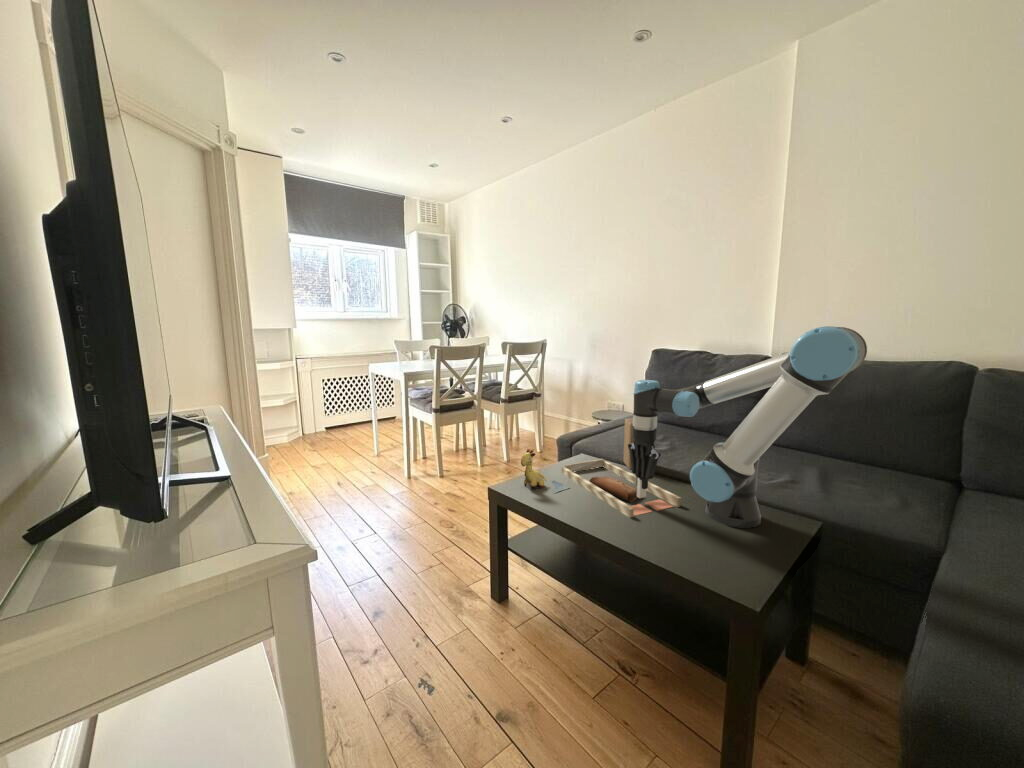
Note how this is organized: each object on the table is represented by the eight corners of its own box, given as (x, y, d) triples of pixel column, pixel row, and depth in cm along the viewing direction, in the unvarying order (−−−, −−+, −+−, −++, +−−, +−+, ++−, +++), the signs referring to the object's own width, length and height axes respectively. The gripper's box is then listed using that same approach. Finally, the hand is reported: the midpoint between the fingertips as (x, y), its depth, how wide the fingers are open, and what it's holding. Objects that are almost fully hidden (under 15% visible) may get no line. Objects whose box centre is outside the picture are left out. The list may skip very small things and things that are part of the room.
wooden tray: (680, 506, 132) (681, 494, 131) (629, 518, 124) (629, 506, 123) (604, 467, 169) (605, 458, 169) (561, 474, 161) (561, 465, 160)
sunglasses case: (644, 492, 139) (636, 481, 135) (634, 509, 136) (626, 498, 133) (604, 476, 153) (596, 466, 150) (594, 491, 151) (586, 482, 147)
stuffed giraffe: (504, 489, 148) (503, 447, 146) (540, 477, 159) (540, 438, 157) (533, 504, 135) (533, 458, 133) (570, 490, 146) (570, 448, 144)
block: (653, 470, 165) (655, 423, 163) (628, 470, 166) (630, 423, 163) (645, 462, 175) (647, 417, 173) (622, 462, 176) (624, 417, 173)
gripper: (668, 431, 126) (664, 502, 129) (639, 422, 138) (636, 487, 141) (649, 433, 123) (646, 506, 126) (622, 424, 135) (619, 491, 138)
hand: (641, 496), depth 134 cm, fingers closed
